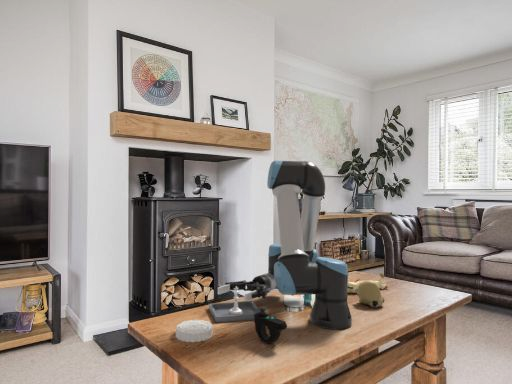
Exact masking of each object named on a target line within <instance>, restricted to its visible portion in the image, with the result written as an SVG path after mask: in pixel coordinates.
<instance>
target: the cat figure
mask: <svg viewBox="0 0 512 384" xmlns="http://www.w3.org/2000/svg"><path fill="white" fill-rule="evenodd" d="M379 276H380V278H379V279H378V280H374V281H375V282H376V283H377V285H378V287H379V289H384V287H385V288H389V286H388V283H384V284H383V280H384V279H385V275H384V273H382V272H380V273H379ZM363 281H364V280H361V281H360V278H358V279H357V280H356V281H354V282H352V281H348V289H347V294H348V293H349V294H350V293H355V294H357V292H355V289H357V288H358V286H359V284H360V283H361V282H363Z"/></svg>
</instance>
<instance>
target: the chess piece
mask: <svg viewBox="0 0 512 384" xmlns="http://www.w3.org/2000/svg"><path fill="white" fill-rule="evenodd" d="M235 289H236V290H235ZM237 289H239V288H237V286H236V288H234V290H233V295H234V296H233V297H232V298H233V299H234V301H233V302H234V307H233V309H230V312H229V313H231V314H241V313H242V310H241V309H239V308H238V303H237V302H238V299H239V297H240V296H238V295H239V293H240V292H239V291H240V290H237Z"/></svg>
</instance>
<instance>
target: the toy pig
mask: <svg viewBox="0 0 512 384" xmlns="http://www.w3.org/2000/svg"><path fill="white" fill-rule="evenodd" d="M362 281H363V282H361V283H360V284H359V286H358V288H357V289H355V292H357V293H356V294H357V297H358V298H359V300H358V301H359V302H358V303H360V304H365V305H368V306H370V307H371V308H379V307H382V306H383V304H384V303H385V298H384V297H383V296H382V292H381V290H380V289H381V288H379V287H378V285H377V283H376V282H375V281H376V280H373V279H366V280H362Z"/></svg>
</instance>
